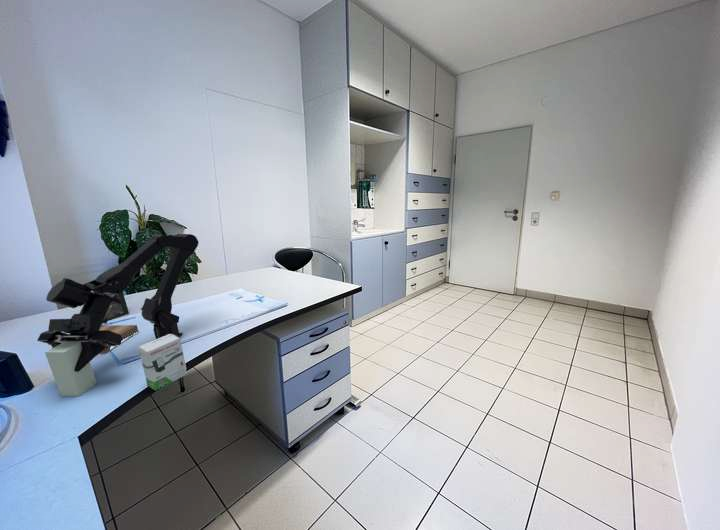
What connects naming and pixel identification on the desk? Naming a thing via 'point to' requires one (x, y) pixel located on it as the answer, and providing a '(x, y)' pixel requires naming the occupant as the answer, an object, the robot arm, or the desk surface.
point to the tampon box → (116, 307)
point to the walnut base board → (119, 332)
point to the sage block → (69, 369)
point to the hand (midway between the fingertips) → (66, 371)
